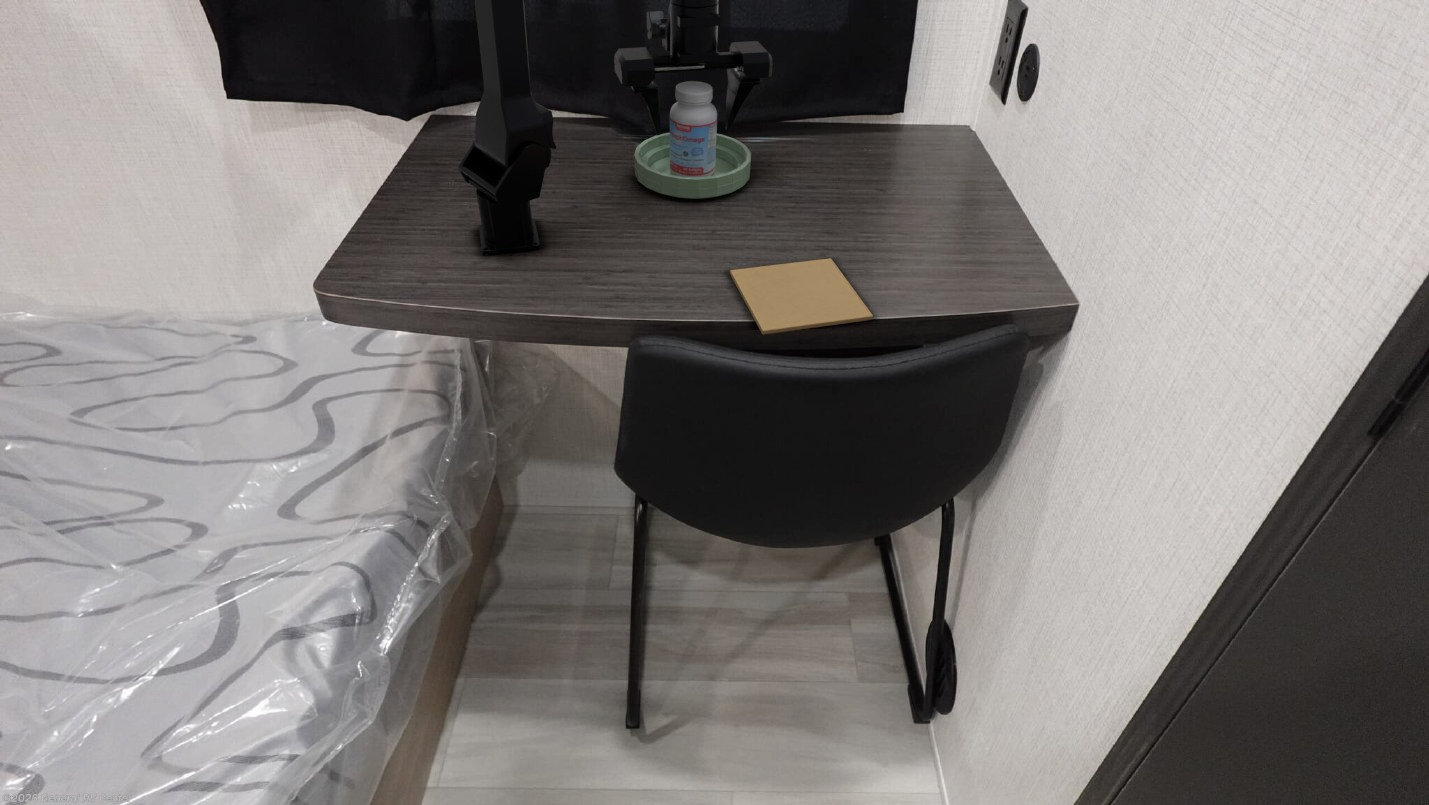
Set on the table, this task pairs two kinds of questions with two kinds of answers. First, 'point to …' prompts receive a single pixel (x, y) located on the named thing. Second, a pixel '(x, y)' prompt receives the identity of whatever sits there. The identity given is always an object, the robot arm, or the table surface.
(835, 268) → the cork mat
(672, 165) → the pill bottle
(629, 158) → the table surface
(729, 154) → the dish
